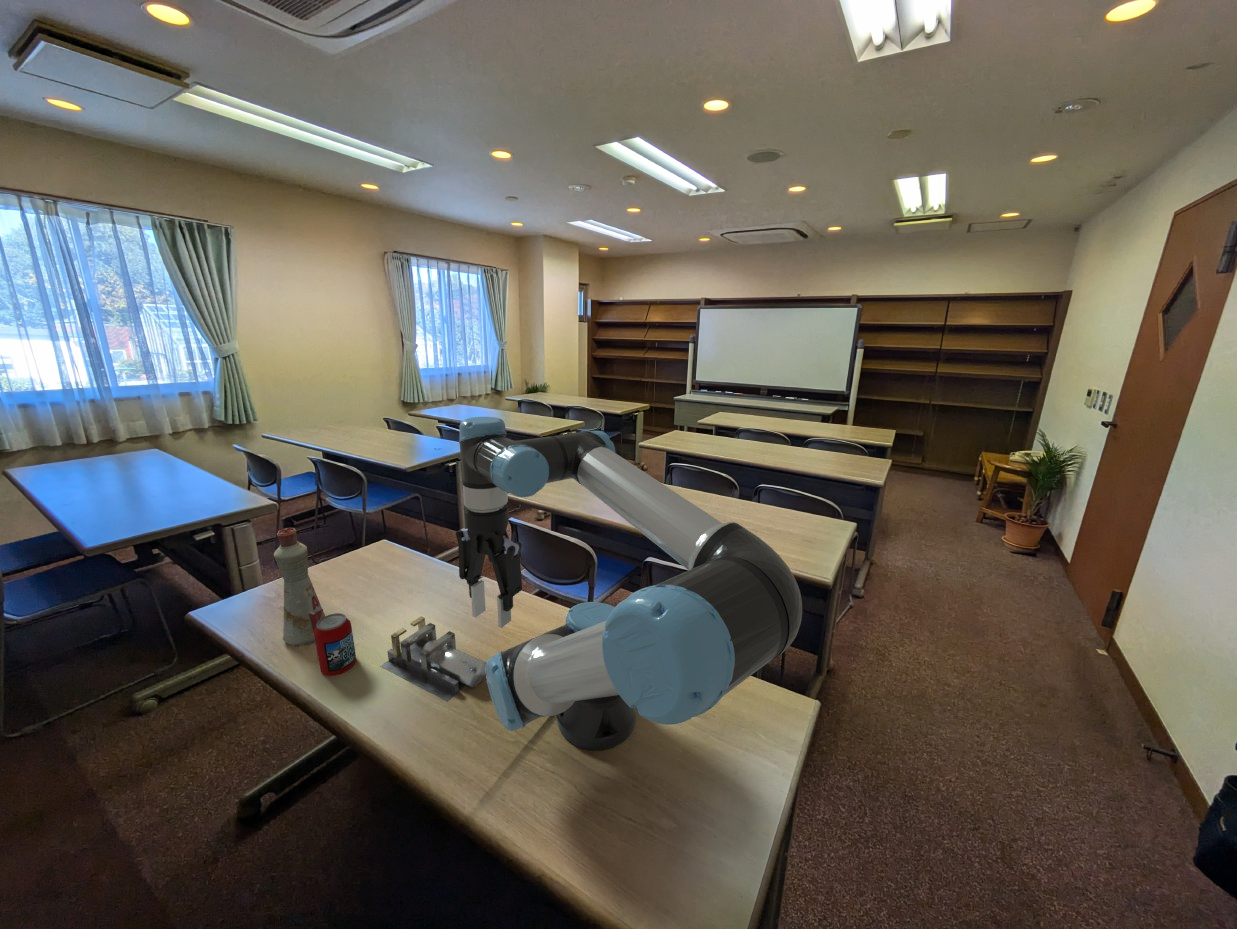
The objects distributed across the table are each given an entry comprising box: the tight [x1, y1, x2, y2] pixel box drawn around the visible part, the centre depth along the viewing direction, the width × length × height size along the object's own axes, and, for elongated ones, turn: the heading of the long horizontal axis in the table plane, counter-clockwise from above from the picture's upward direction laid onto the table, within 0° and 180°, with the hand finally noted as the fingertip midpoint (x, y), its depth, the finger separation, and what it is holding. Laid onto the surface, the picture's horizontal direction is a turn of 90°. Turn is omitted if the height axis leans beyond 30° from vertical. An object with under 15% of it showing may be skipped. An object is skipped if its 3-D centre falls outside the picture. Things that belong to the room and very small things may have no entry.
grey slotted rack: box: [379, 616, 487, 702], centre depth 100 cm, size 20×12×8 cm, turn 63°
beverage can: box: [314, 612, 357, 677], centre depth 98 cm, size 7×7×12 cm
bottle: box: [273, 527, 326, 647], centre depth 106 cm, size 9×9×28 cm
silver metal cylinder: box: [420, 639, 486, 688], centre depth 98 cm, size 14×5×5 cm, turn 63°
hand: (491, 618), depth 88 cm, fingers open, 6 cm apart
